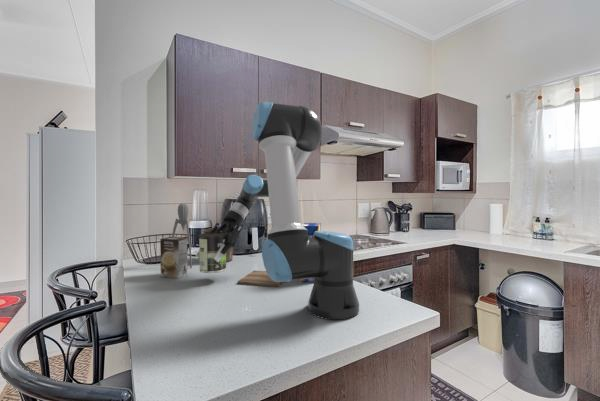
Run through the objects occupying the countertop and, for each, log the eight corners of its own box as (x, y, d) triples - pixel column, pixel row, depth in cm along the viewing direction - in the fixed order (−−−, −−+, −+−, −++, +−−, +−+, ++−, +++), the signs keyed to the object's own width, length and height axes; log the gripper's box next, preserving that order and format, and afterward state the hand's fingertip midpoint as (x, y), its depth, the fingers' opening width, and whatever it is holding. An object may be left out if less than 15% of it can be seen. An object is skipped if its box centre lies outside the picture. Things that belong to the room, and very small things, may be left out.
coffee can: (230, 267, 122) (230, 233, 122) (219, 273, 112) (218, 236, 112) (207, 266, 124) (207, 232, 124) (194, 272, 114) (193, 236, 114)
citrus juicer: (191, 262, 149) (190, 202, 148) (202, 265, 143) (201, 203, 142) (168, 267, 140) (167, 203, 139) (179, 270, 134) (178, 204, 133)
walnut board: (277, 287, 110) (277, 284, 110) (237, 283, 114) (237, 281, 114) (289, 275, 126) (289, 272, 126) (254, 272, 130) (253, 270, 130)
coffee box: (159, 277, 124) (159, 238, 123) (170, 273, 130) (169, 236, 129) (178, 278, 121) (177, 239, 121) (188, 274, 127) (187, 237, 127)
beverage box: (301, 281, 117) (301, 225, 116) (305, 274, 127) (304, 222, 127) (318, 282, 116) (318, 226, 115) (321, 274, 126) (320, 223, 126)
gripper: (260, 222, 124) (232, 267, 111) (223, 220, 137) (194, 260, 124) (251, 210, 119) (221, 256, 107) (213, 209, 132) (182, 250, 119)
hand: (206, 258), depth 115 cm, fingers closed on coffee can, 10 cm apart
